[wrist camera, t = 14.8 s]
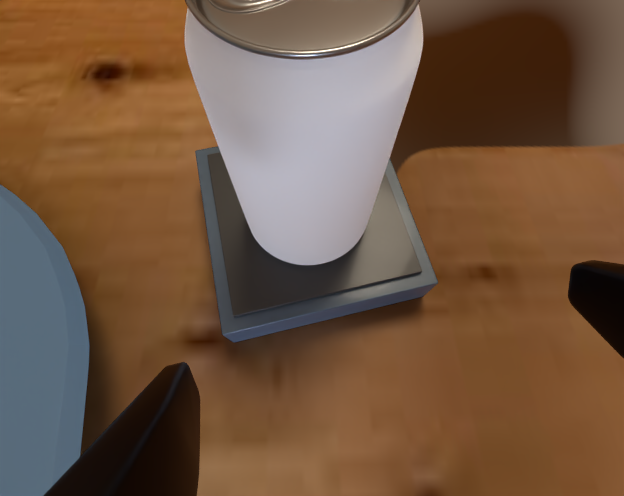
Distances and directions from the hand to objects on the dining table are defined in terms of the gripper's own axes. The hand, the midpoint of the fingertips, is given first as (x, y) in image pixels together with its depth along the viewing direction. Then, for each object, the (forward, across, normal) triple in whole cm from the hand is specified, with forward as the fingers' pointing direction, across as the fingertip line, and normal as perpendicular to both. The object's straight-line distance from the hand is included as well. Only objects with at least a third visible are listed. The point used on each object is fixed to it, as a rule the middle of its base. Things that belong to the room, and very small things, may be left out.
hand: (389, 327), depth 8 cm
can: (+12, 0, +1) cm, 12 cm away
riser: (+14, 0, +3) cm, 15 cm away
